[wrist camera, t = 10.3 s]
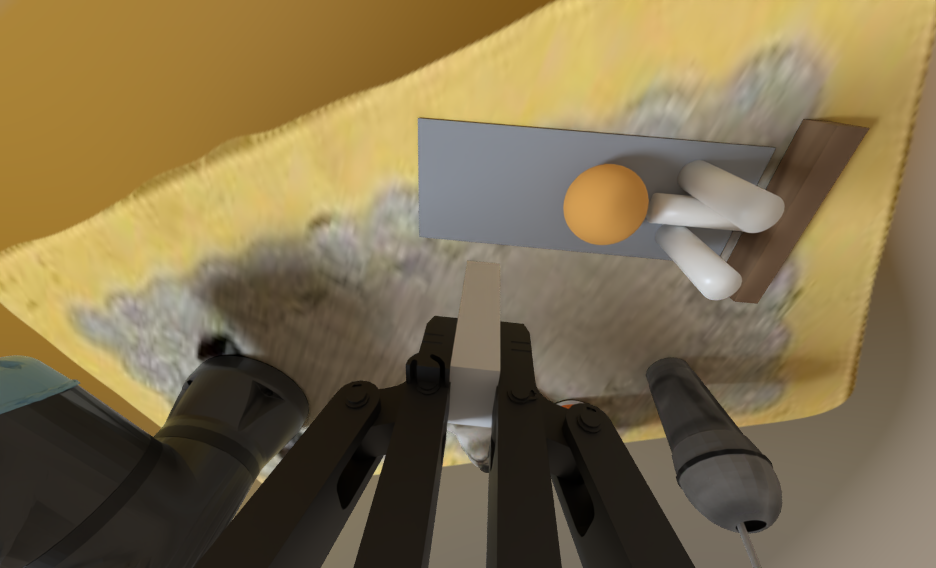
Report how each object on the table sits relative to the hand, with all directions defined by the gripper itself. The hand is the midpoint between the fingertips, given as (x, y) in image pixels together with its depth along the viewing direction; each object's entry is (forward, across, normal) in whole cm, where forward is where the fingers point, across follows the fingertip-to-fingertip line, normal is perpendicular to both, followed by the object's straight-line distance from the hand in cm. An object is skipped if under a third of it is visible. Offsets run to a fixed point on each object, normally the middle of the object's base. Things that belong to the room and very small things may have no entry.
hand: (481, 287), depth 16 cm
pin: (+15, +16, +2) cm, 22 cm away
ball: (+12, +9, 0) cm, 15 cm away
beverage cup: (+16, +22, -19) cm, 33 cm away
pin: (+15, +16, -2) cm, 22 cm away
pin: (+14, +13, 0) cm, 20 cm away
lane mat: (+15, +8, 0) cm, 17 cm away
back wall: (+15, +23, 0) cm, 28 cm away
